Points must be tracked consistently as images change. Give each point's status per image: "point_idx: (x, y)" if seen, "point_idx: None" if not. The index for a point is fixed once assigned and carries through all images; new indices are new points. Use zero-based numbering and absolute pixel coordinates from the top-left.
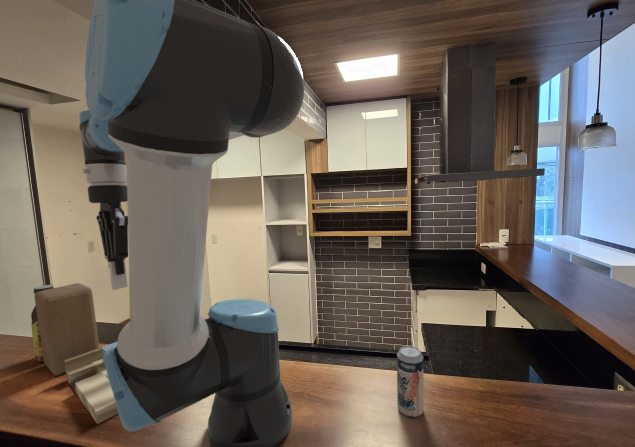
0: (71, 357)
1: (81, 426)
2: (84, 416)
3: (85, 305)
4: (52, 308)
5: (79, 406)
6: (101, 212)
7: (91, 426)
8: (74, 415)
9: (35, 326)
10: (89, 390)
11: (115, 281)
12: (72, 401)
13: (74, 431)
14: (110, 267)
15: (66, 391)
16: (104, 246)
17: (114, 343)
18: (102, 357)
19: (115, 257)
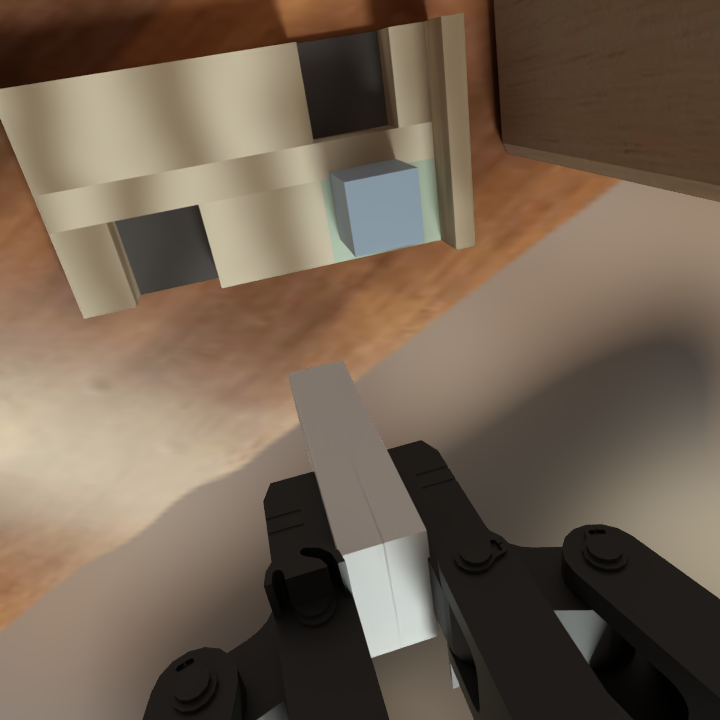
0: (518, 47)
1: (25, 39)
2: (91, 55)
3: (675, 149)
4: None
5: (179, 46)
6: None
7: (3, 70)
8: (123, 23)
9: None
10: (185, 87)
11: (301, 424)
12: (237, 26)
13: (5, 13)
14: (363, 487)
15: (335, 12)
16: (688, 660)
17: (413, 220)
18: (401, 161)
19: (164, 691)
